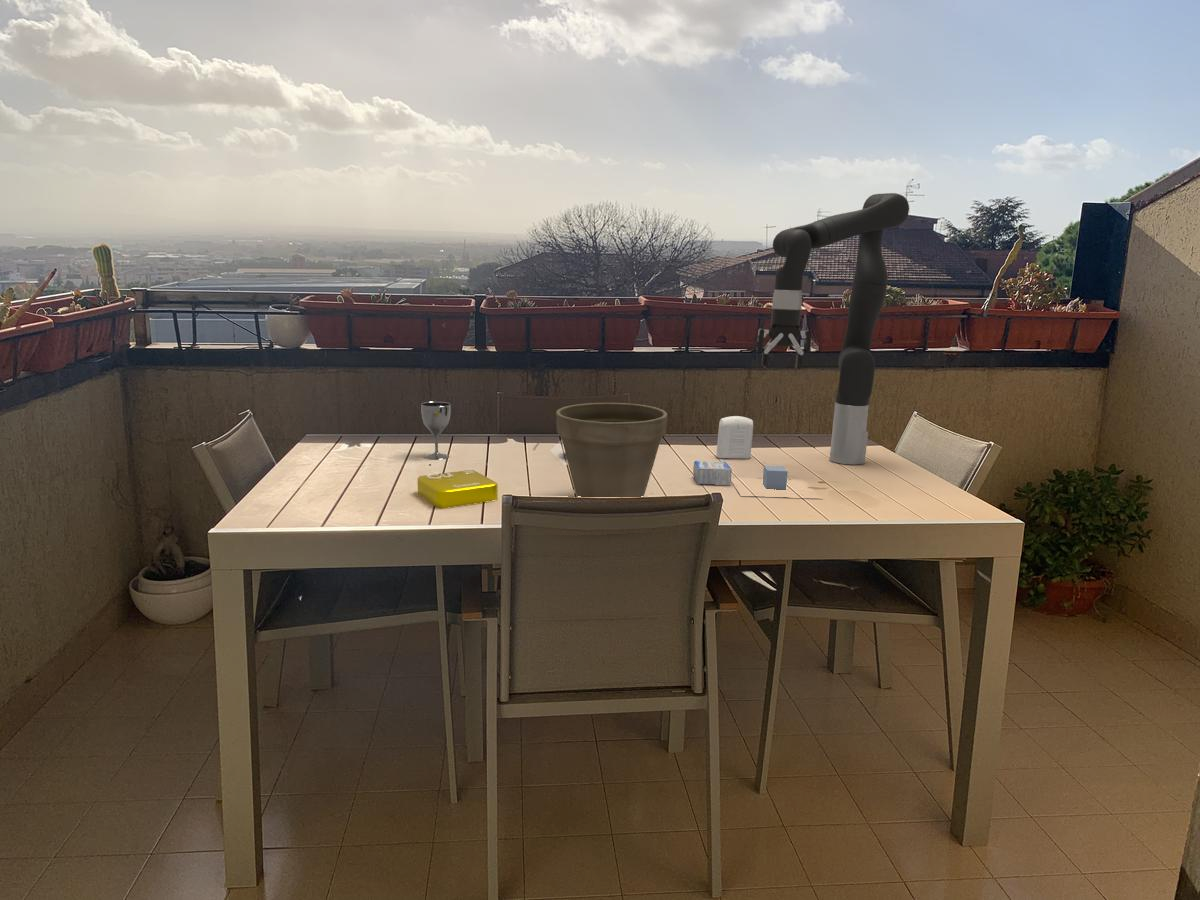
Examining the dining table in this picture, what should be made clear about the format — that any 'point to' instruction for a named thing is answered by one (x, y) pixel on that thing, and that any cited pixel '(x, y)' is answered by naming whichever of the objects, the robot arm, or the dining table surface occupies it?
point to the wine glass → (436, 423)
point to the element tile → (457, 488)
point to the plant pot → (610, 446)
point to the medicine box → (712, 472)
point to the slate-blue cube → (775, 477)
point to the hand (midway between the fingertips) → (781, 368)
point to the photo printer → (735, 437)
